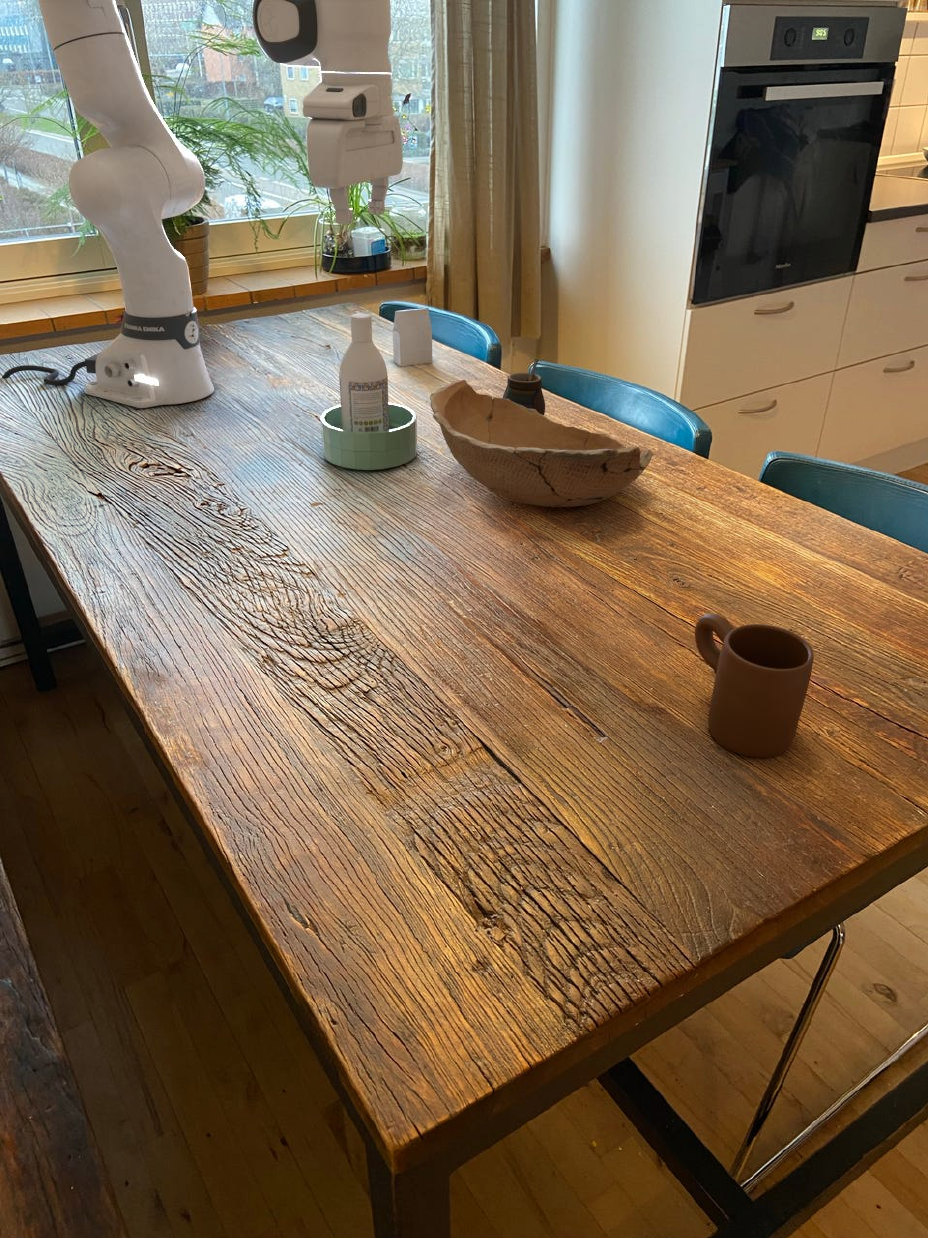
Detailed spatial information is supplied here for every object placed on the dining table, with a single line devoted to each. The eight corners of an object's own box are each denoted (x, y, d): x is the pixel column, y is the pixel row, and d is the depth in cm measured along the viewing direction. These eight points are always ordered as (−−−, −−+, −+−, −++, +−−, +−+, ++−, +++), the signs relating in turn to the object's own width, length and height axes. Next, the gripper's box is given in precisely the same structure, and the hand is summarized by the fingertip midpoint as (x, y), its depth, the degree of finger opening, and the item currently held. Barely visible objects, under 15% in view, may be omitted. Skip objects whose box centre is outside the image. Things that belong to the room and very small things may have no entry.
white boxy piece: (432, 362, 180) (432, 310, 175) (400, 366, 178) (399, 313, 172) (424, 357, 183) (424, 306, 178) (393, 361, 180) (392, 309, 175)
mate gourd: (493, 428, 148) (495, 367, 143) (509, 414, 154) (511, 355, 149) (535, 435, 146) (539, 373, 141) (549, 420, 152) (553, 360, 147)
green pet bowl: (306, 464, 134) (303, 425, 131) (349, 433, 145) (348, 396, 142) (393, 478, 130) (392, 438, 127) (430, 446, 141) (430, 408, 138)
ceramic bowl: (671, 461, 133) (678, 364, 123) (614, 569, 114) (617, 465, 105) (483, 433, 144) (475, 342, 134) (403, 527, 125) (388, 430, 116)
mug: (656, 698, 86) (670, 612, 81) (716, 675, 90) (733, 592, 85) (748, 772, 78) (769, 681, 73) (811, 744, 81) (836, 656, 76)
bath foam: (398, 452, 137) (395, 316, 127) (360, 463, 134) (353, 323, 123) (372, 439, 142) (367, 307, 131) (334, 449, 138) (326, 313, 128)
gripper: (370, 96, 123) (374, 207, 131) (294, 101, 107) (302, 227, 114) (413, 97, 122) (414, 210, 129) (342, 103, 105) (347, 231, 113)
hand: (361, 218), depth 122 cm, fingers open, 8 cm apart
